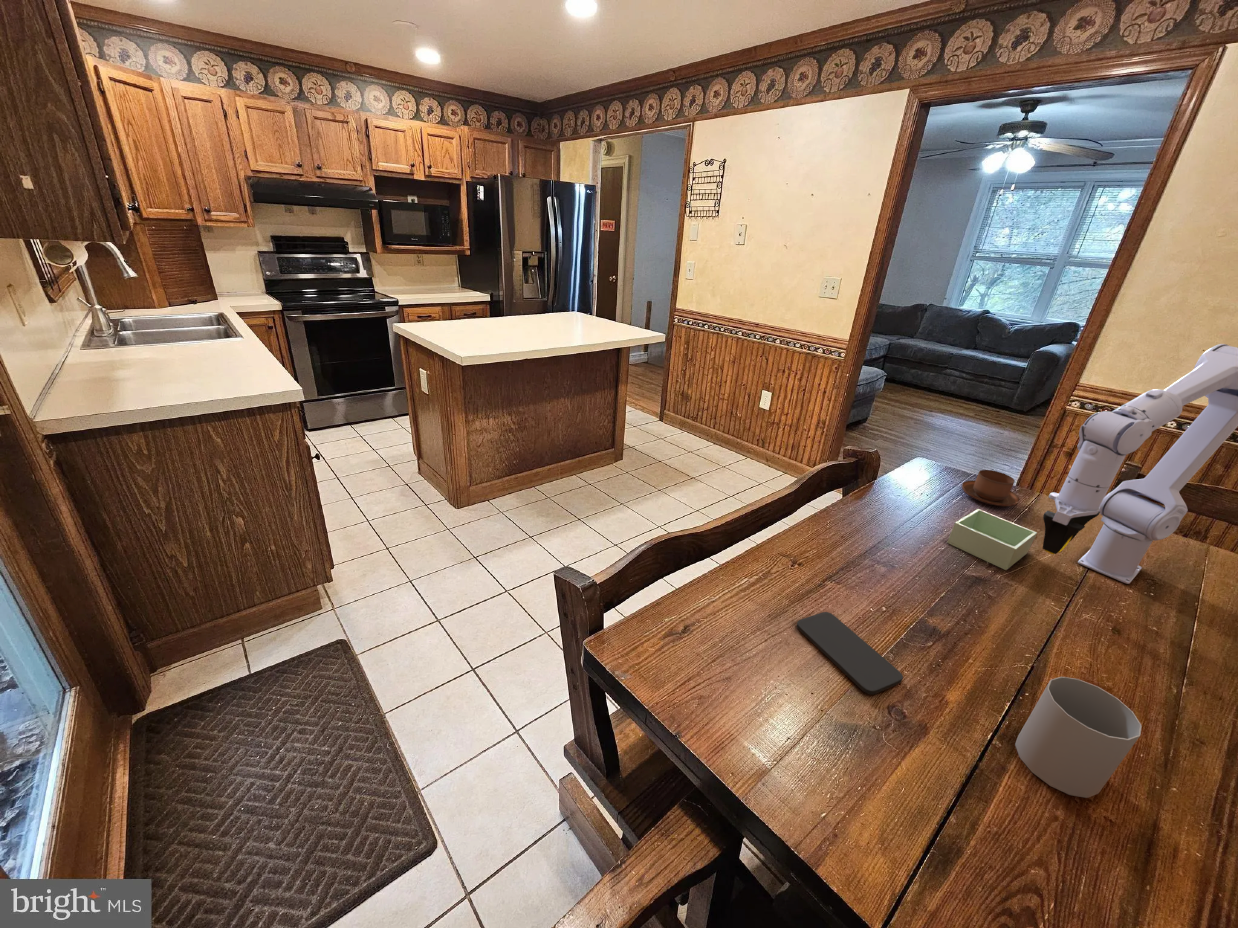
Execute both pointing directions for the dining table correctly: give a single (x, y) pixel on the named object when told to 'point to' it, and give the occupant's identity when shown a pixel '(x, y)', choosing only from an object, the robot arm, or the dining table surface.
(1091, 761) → the cup
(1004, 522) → the bin
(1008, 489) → the cup and saucer
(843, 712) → the dining table surface
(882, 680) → the phone
